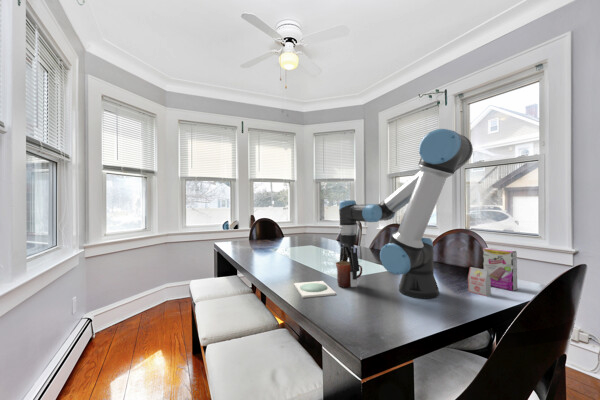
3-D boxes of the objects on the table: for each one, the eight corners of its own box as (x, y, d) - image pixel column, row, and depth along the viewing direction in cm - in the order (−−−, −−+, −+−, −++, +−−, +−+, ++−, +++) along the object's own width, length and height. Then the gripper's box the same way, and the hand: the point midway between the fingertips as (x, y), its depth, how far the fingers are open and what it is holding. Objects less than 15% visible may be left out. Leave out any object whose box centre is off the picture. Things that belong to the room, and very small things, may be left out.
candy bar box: (483, 285, 119) (481, 248, 119) (487, 283, 121) (486, 247, 122) (513, 291, 109) (512, 251, 110) (518, 289, 112) (516, 250, 113)
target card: (335, 294, 109) (335, 292, 109) (302, 297, 106) (302, 295, 106) (322, 282, 127) (322, 280, 127) (294, 284, 124) (294, 282, 124)
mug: (336, 288, 117) (335, 265, 117) (335, 282, 126) (335, 261, 126) (363, 289, 116) (363, 265, 116) (361, 283, 125) (360, 261, 125)
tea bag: (473, 290, 112) (472, 266, 112) (490, 294, 106) (490, 269, 106) (468, 291, 110) (467, 267, 111) (485, 296, 104) (485, 270, 105)
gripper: (332, 232, 132) (333, 277, 131) (350, 237, 109) (351, 291, 109) (346, 231, 133) (347, 276, 133) (367, 236, 111) (368, 289, 111)
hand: (349, 283), depth 121 cm, fingers open, 10 cm apart
